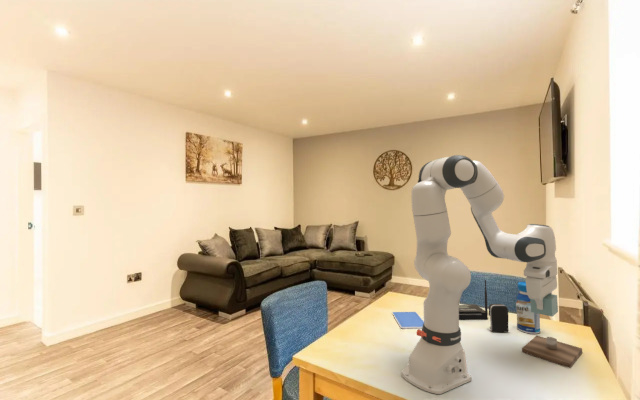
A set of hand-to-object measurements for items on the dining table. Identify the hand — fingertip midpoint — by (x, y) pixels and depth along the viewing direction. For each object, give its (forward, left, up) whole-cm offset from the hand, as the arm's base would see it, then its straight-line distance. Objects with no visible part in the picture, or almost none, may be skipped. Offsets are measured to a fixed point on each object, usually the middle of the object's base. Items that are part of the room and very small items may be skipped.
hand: (544, 306), depth 108 cm
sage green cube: (0, 0, -2) cm, 2 cm away
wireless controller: (+16, +35, -18) cm, 42 cm away
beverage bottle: (+18, +11, -18) cm, 27 cm away
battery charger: (+8, +19, -18) cm, 27 cm away
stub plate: (+3, -1, -17) cm, 18 cm away
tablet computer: (-11, +51, -18) cm, 55 cm away
